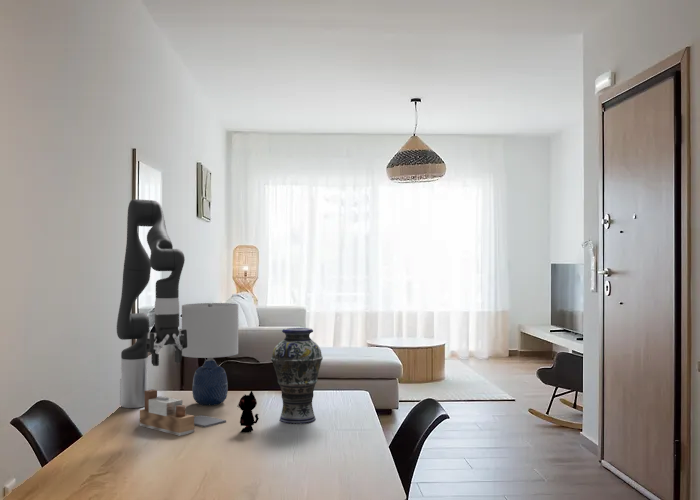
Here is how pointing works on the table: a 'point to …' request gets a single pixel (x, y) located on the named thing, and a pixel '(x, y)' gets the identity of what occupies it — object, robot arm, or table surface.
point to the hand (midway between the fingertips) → (166, 364)
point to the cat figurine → (247, 412)
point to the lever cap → (164, 405)
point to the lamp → (210, 346)
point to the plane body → (166, 418)
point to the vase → (297, 374)
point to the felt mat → (207, 421)
